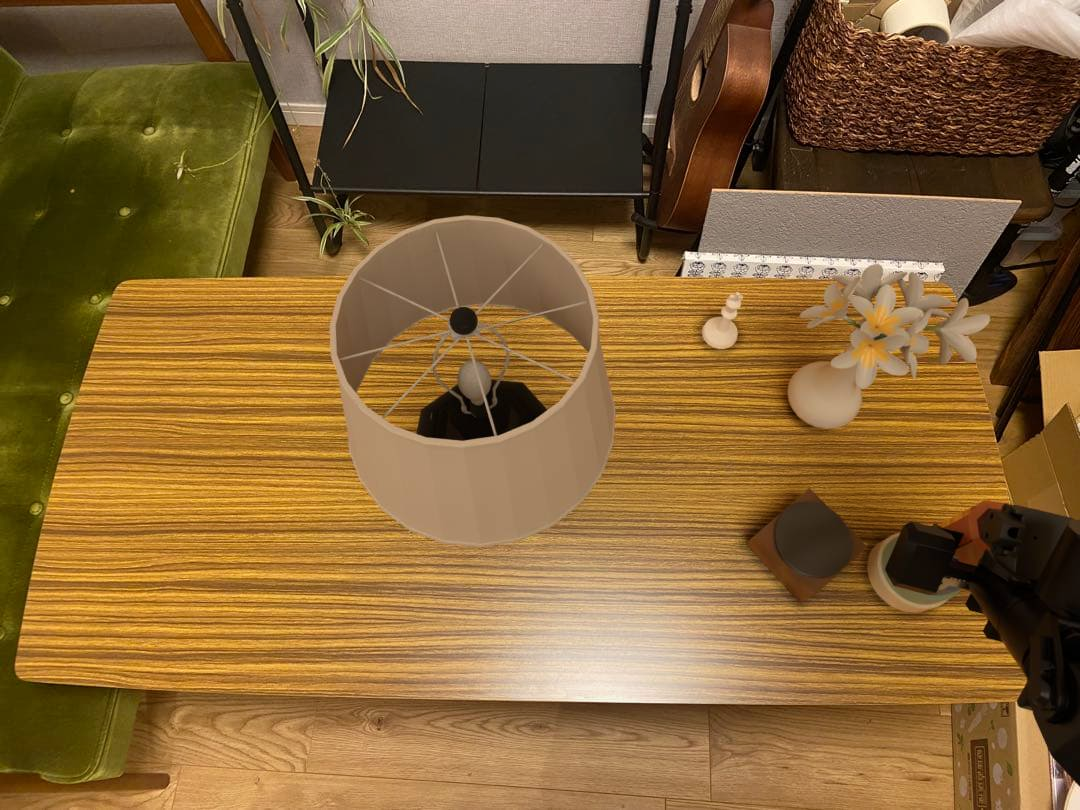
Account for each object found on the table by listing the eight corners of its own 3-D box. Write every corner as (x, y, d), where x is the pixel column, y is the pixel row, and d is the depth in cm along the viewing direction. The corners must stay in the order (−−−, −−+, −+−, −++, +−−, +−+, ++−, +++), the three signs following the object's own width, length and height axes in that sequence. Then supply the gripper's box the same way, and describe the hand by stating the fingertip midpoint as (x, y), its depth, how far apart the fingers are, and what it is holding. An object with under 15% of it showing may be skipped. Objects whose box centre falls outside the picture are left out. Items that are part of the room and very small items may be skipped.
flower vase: (902, 438, 92) (1020, 342, 70) (766, 456, 91) (840, 365, 69) (868, 352, 98) (968, 237, 75) (739, 368, 97) (801, 257, 74)
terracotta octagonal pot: (998, 556, 74) (1048, 536, 67) (962, 592, 72) (1009, 576, 65) (952, 512, 76) (995, 489, 69) (916, 546, 74) (956, 526, 67)
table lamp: (563, 365, 97) (576, 146, 61) (630, 552, 86) (694, 420, 50) (369, 417, 94) (262, 217, 58) (413, 618, 83) (314, 528, 47)
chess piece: (738, 349, 98) (759, 310, 89) (703, 348, 98) (720, 309, 89) (735, 319, 100) (754, 277, 91) (700, 318, 100) (716, 277, 91)
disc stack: (958, 580, 85) (1003, 564, 76) (910, 628, 82) (950, 617, 74) (899, 523, 88) (936, 501, 79) (851, 567, 85) (884, 550, 77)
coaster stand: (850, 556, 86) (870, 545, 81) (799, 603, 83) (816, 594, 78) (796, 500, 89) (811, 486, 84) (745, 544, 86) (758, 532, 81)
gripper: (1204, 575, 55) (1095, 490, 70) (958, 514, 57) (902, 443, 72) (1136, 686, 59) (1046, 583, 73) (907, 625, 61) (864, 537, 76)
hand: (965, 535), depth 73 cm, fingers closed on terracotta octagonal pot, 6 cm apart
